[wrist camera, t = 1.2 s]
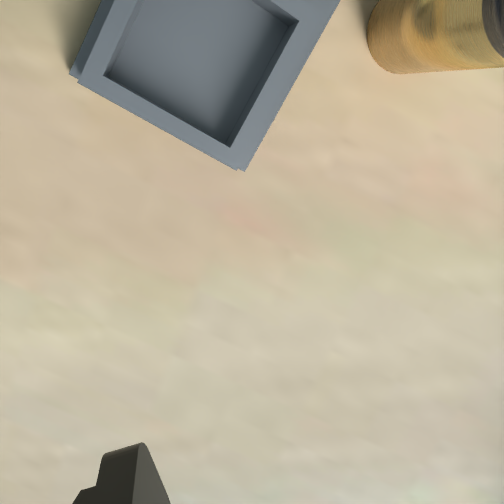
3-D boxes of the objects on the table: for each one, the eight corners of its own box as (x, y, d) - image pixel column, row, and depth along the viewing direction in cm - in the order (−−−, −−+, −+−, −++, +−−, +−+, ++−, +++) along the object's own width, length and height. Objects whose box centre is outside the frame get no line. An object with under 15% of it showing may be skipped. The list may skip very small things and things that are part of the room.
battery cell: (412, 88, 32) (595, 88, 18) (352, 46, 30) (503, 11, 17) (456, 16, 31) (687, -42, 17) (396, -31, 29) (598, -138, 16)
